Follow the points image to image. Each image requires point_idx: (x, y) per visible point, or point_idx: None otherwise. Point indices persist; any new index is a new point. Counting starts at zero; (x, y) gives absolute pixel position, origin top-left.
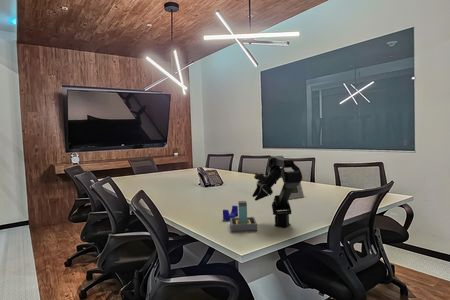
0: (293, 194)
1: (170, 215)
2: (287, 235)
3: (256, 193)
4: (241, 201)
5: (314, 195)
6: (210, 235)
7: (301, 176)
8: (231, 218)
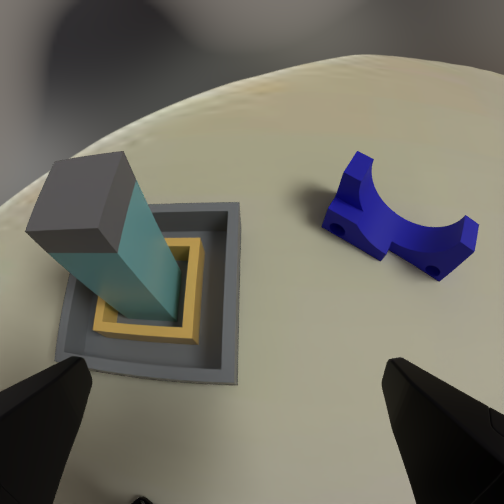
0: None
1: (386, 61)
2: None
3: (419, 442)
4: (90, 180)
5: None
6: None
7: None
8: (226, 209)
